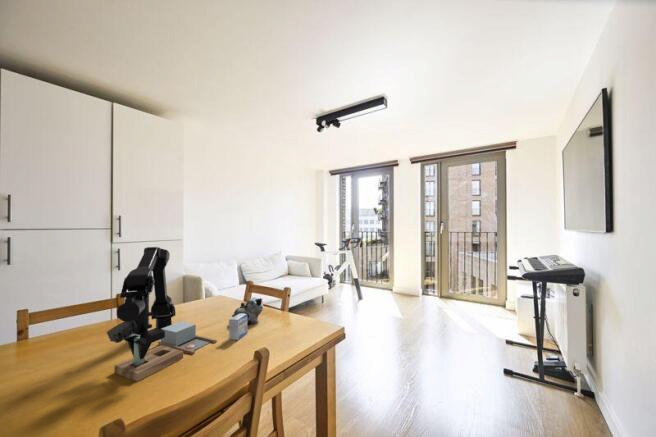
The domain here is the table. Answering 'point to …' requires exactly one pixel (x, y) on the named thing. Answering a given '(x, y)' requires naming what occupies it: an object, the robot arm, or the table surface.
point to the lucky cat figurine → (250, 309)
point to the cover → (179, 333)
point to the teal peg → (137, 355)
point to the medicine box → (238, 326)
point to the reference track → (191, 344)
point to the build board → (149, 363)
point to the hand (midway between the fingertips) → (138, 357)
